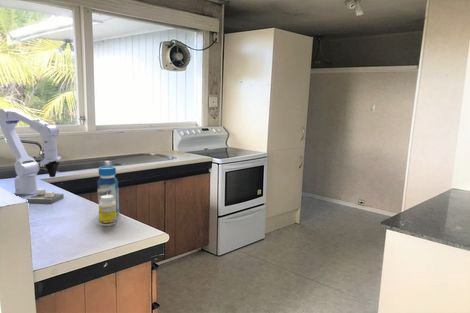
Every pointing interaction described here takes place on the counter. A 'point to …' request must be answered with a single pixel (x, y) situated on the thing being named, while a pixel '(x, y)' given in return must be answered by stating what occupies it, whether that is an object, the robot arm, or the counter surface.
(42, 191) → the switch tab
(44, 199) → the switch panel
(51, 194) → the switch tab
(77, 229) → the counter surface
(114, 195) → the beverage bottle
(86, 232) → the counter surface
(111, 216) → the pill bottle
